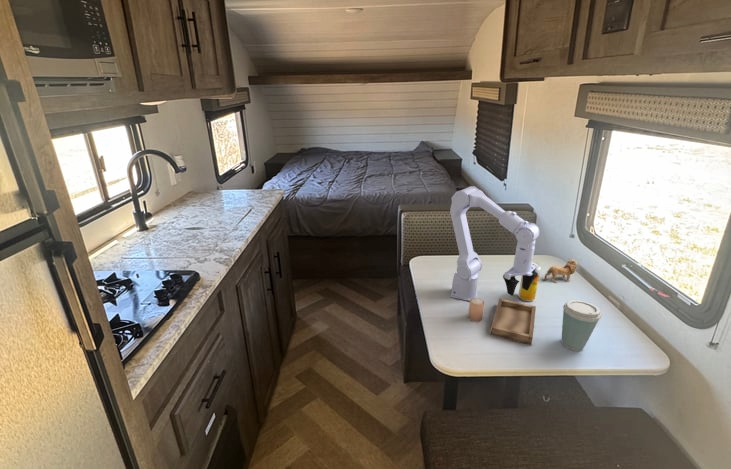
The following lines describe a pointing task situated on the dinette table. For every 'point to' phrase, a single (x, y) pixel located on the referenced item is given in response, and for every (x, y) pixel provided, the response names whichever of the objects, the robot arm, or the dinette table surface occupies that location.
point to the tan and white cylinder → (476, 309)
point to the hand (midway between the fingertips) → (517, 291)
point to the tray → (514, 321)
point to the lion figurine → (562, 270)
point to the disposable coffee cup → (578, 323)
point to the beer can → (531, 292)
